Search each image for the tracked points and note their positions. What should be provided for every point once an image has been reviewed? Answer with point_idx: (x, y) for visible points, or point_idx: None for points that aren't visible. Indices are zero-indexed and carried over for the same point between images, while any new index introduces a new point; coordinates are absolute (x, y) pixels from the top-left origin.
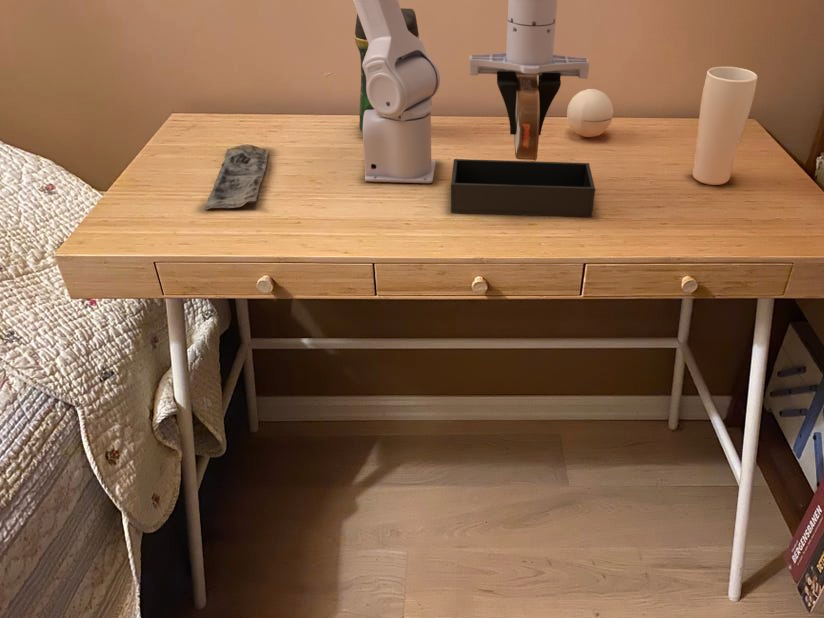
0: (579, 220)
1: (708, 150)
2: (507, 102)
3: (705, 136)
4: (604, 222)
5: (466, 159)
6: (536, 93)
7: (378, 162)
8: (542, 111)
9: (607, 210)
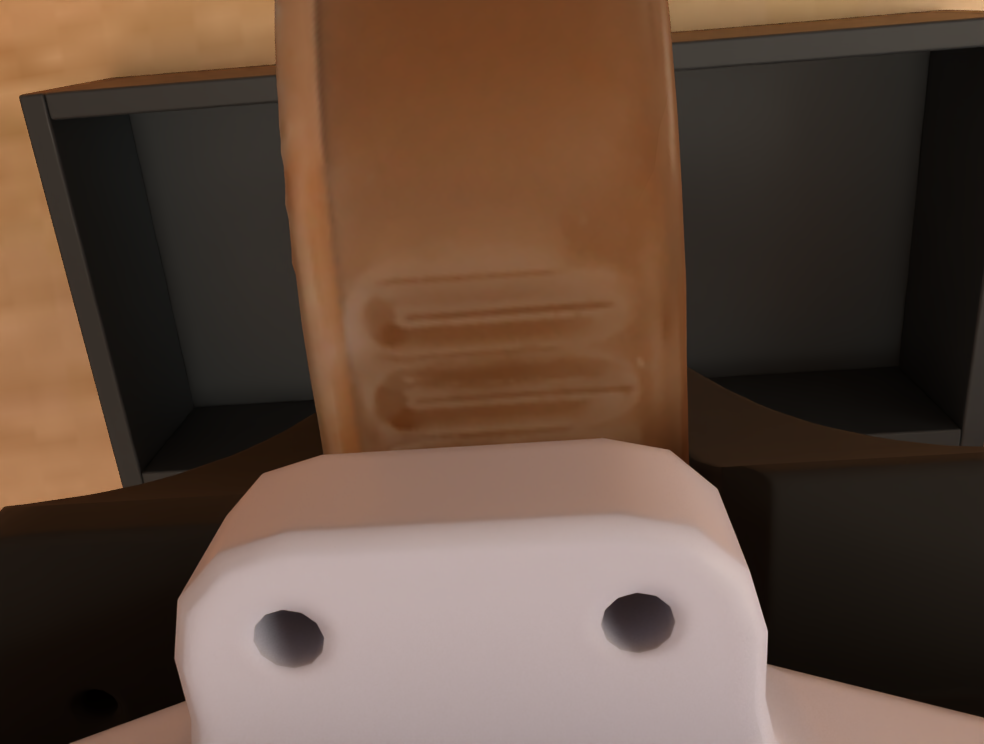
0: (174, 26)
1: None
2: (790, 431)
3: None
4: (30, 21)
5: None
6: (351, 321)
7: None
8: None
9: (39, 186)
